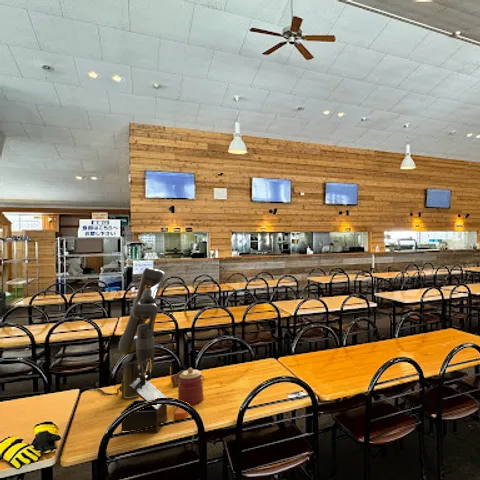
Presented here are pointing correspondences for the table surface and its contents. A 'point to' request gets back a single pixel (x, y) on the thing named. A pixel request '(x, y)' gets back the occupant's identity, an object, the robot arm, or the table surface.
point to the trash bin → (144, 418)
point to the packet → (180, 414)
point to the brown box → (175, 379)
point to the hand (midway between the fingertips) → (145, 382)
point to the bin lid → (147, 391)
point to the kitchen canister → (190, 386)
